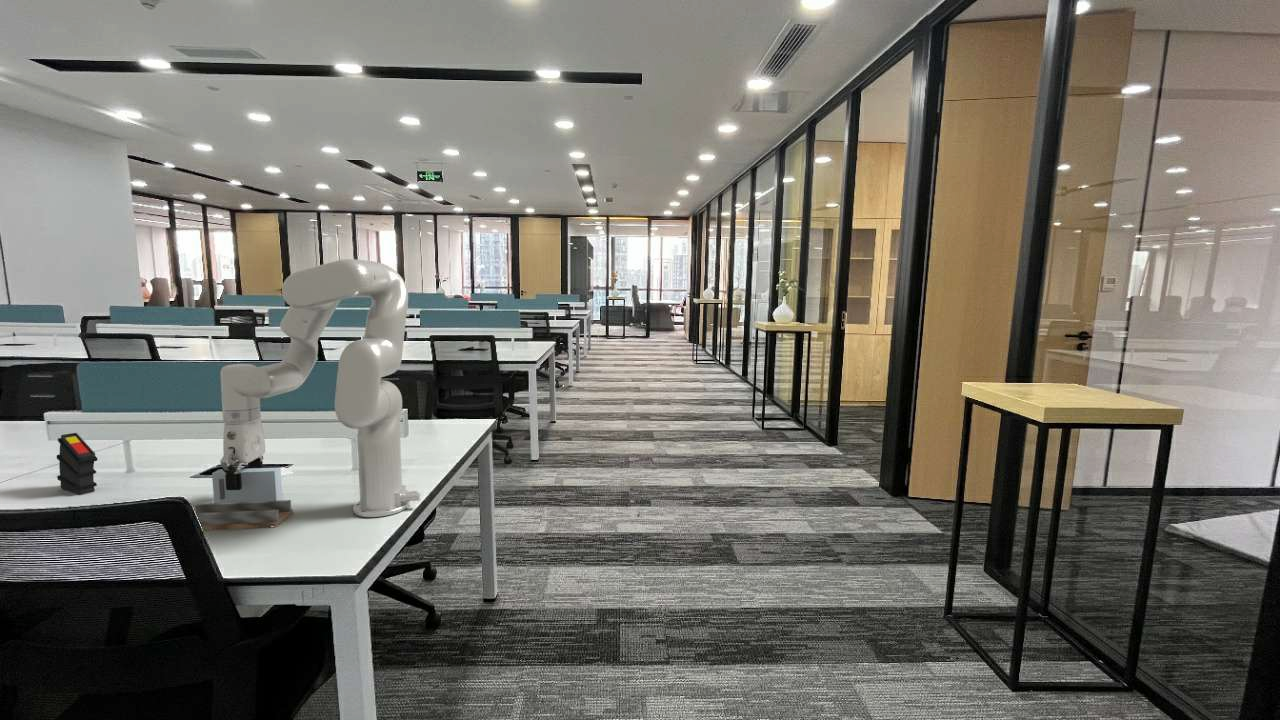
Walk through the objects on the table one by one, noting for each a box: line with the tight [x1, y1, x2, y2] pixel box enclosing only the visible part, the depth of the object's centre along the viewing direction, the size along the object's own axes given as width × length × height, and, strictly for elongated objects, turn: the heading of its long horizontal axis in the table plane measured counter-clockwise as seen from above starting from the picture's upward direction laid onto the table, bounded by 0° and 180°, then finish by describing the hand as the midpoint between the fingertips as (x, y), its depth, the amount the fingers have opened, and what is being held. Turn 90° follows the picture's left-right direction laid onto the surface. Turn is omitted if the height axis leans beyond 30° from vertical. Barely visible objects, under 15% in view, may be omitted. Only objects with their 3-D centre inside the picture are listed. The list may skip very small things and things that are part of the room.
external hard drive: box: [280, 466, 295, 479], centre depth 159 cm, size 2×8×12 cm
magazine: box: [56, 432, 98, 495], centre depth 147 cm, size 4×13×15 cm, turn 65°
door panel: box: [211, 467, 284, 503], centre depth 138 cm, size 14×3×9 cm, turn 98°
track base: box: [194, 499, 294, 531], centre depth 128 cm, size 20×8×4 cm, turn 98°
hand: (245, 482), depth 138 cm, fingers open, 9 cm apart
